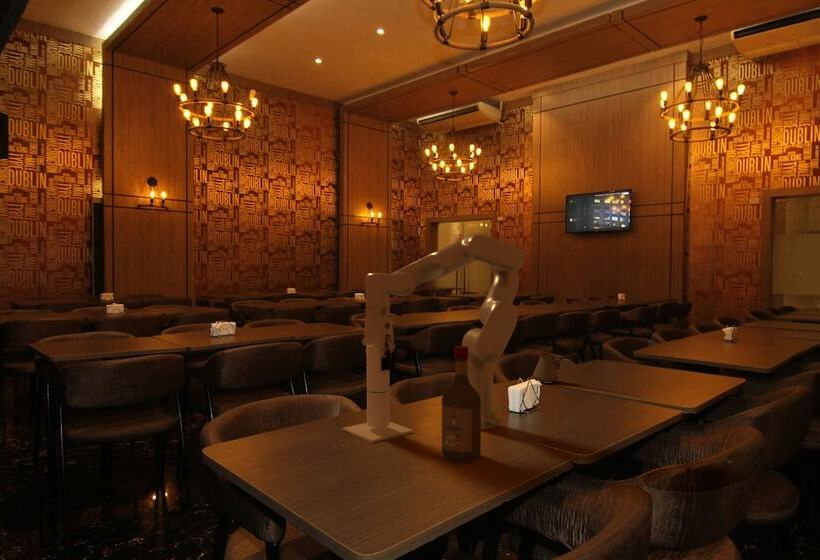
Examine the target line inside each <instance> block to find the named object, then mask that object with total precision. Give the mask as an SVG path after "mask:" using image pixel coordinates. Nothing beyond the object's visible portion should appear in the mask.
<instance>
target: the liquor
mask: <svg viewBox="0 0 820 560" xmlns="http://www.w3.org/2000/svg"><path fill="white" fill-rule="evenodd" d="M481 431H482V430H481V398H480V395H479V393H478V392H477V391H476V390H475V389H474V388H473V386H472V385H471V384H470V383H469V379H468V347H467V346H462V345H455V346H454V378H453V382H452V384H450V386H449V387H448V388H447V389H446V390H445V391H444V393H443V395H442V397H441V453H442V456H443V458H444V459H445V460H447V461H452V462H456V463H461V464H464V463H465V464H467V463H472V462H474V461H475V460H476V459H479V457H480V456H481V454H482V453H481V451H482V449H481V446H482V443H481V442H482V441H481V440H482V439H481V438H482V436H481V435H482V433H481Z"/></svg>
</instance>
